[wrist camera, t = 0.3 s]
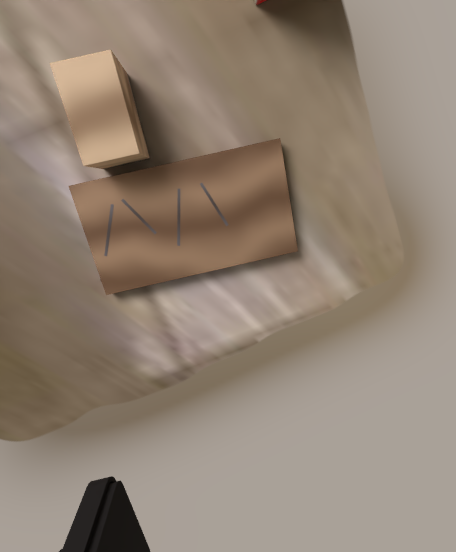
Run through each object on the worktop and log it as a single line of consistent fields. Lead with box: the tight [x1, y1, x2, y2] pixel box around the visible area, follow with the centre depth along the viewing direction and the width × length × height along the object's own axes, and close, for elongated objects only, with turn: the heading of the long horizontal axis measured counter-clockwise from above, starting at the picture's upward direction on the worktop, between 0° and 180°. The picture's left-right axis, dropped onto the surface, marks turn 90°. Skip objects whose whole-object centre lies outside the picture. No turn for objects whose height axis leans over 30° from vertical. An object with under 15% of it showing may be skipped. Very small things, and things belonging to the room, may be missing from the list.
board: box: [69, 138, 298, 295], centre depth 35 cm, size 12×22×2 cm, turn 102°
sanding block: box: [50, 50, 150, 169], centre depth 30 cm, size 8×5×6 cm, turn 12°
